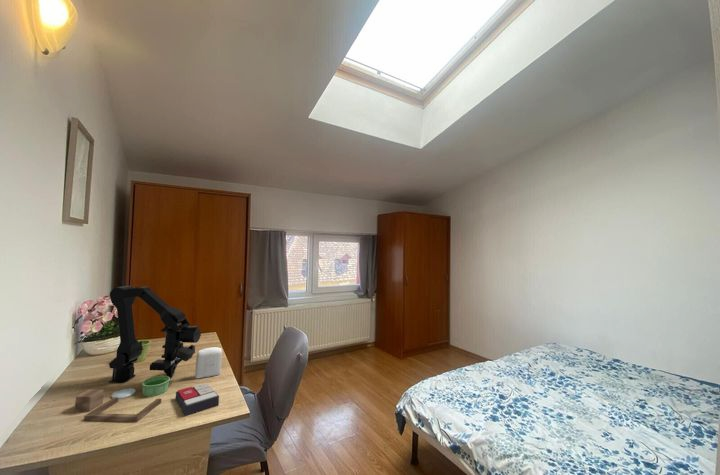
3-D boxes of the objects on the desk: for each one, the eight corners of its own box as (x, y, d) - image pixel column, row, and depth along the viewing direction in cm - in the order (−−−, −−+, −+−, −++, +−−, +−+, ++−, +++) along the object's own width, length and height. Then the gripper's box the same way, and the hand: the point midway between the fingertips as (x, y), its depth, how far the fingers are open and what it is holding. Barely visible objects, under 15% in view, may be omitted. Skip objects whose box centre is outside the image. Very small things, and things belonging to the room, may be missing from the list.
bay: (83, 420, 90) (84, 415, 91) (113, 401, 102) (114, 397, 102) (137, 421, 91) (137, 417, 91) (161, 402, 102) (161, 398, 103)
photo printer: (219, 371, 130) (221, 344, 131) (221, 375, 127) (223, 347, 127) (194, 376, 125) (196, 348, 125) (195, 380, 121) (197, 351, 122)
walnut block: (74, 411, 95) (75, 396, 95) (88, 403, 100) (89, 389, 100) (89, 411, 95) (90, 396, 96) (102, 403, 100) (103, 389, 101)
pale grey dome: (106, 399, 103) (106, 397, 103) (121, 389, 110) (121, 388, 110) (125, 399, 104) (125, 397, 104) (139, 390, 110) (139, 388, 111)
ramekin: (162, 396, 107) (163, 385, 107) (135, 398, 105) (136, 386, 105) (173, 385, 115) (174, 374, 116) (148, 386, 114) (149, 375, 114)
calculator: (207, 381, 114) (219, 393, 103) (206, 392, 113) (218, 406, 103) (175, 389, 106) (185, 404, 95) (175, 401, 106) (184, 417, 95)
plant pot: (152, 360, 140) (154, 342, 140) (129, 366, 132) (131, 347, 132) (144, 355, 145) (146, 338, 145) (122, 361, 137) (123, 343, 137)
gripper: (178, 349, 111) (175, 389, 110) (203, 335, 129) (200, 369, 129) (150, 348, 110) (146, 389, 110) (179, 334, 129) (176, 369, 128)
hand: (170, 378), depth 119 cm, fingers closed
